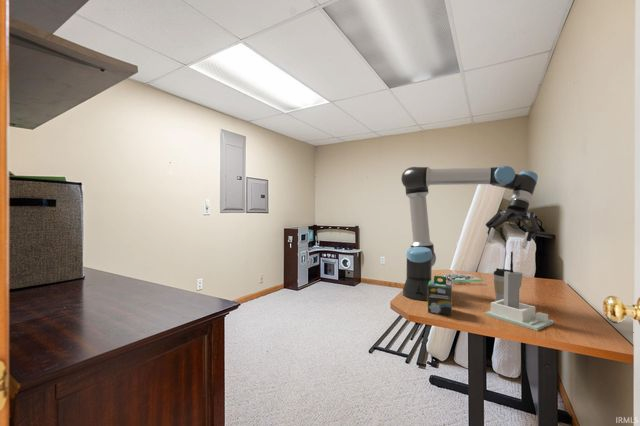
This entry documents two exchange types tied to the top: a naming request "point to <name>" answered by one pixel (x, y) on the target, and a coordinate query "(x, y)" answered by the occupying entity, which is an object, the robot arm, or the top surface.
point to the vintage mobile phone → (512, 286)
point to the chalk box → (440, 296)
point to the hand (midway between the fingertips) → (505, 244)
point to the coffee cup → (499, 283)
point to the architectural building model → (519, 315)
